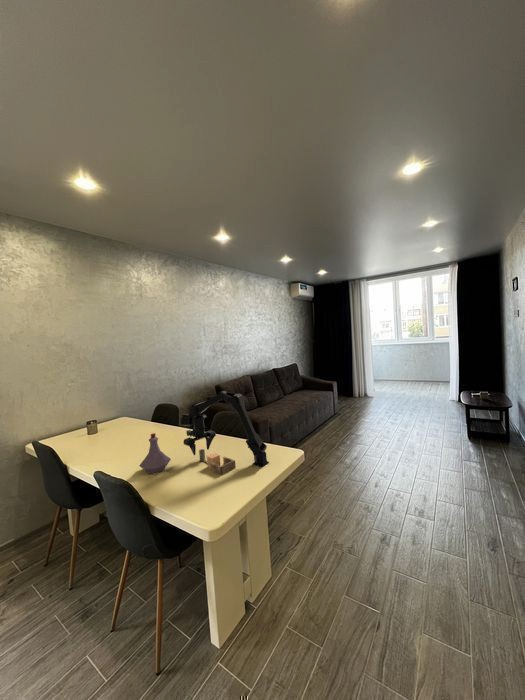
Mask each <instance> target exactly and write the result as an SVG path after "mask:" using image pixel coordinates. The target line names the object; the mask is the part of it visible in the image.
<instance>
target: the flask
mask: <svg viewBox="0 0 525 700" xmlns="http://www.w3.org/2000/svg"><path fill="white" fill-rule="evenodd" d="M158 440H159V437H157V436H156V433H155V432H154V433H151V434H150V438H149V439H148V441H149V449H148V453H147V455H146V456H145V458H144V459H143V460H142V462H141V463H140V464H139V465H138V466H139V467H140V468H141V469H143V470H144V471H145V472H146V473H148V475H154V474H155V475H156V474H158V473H159V474H160V473H161V472H163V471H164V470H165V469H166V468H167V466H168V465H169V463H170V461H171V460H172V459H171V458H170V457H169V456H168V455H166V454H165V453H164V452H162V450H161V449H160V446H159V443H158Z"/></svg>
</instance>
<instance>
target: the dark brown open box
mask: <svg viewBox="0 0 525 700" xmlns="http://www.w3.org/2000/svg"><path fill="white" fill-rule="evenodd" d="M222 459H223V460H222V461H223V464H222V465H221V466H219V465H217V464H215V463H210V465H211V468H210V471H212V472H213V473H215V474H218V475H220V476H223V475H225V474H227V473H228V472H230V471H233V470H235V469H236V468H237V467H236V466H237V465H236V460H235V459H232V458H229V457H227V456H223V457H222Z"/></svg>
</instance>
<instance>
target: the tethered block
mask: <svg viewBox="0 0 525 700" xmlns="http://www.w3.org/2000/svg"><path fill="white" fill-rule="evenodd" d="M198 452H199V462H202V463H207V468H209V469H211V465H210V463H215V464H217V465H219V466H222V465H221V455H220V454H218V453H216V452H214V453H211V454H209V455H207V456H206V453H205V449H202V448H201V449H199V451H198Z"/></svg>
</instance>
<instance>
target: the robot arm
mask: <svg viewBox="0 0 525 700" xmlns="http://www.w3.org/2000/svg"><path fill="white" fill-rule="evenodd" d="M219 401H224V402H226V403H229V404H230V405H231V406H232V408H233V409H234V410H235V411H236V412H237V415H238V417H239V419H240V421H241V425H242V426H243V428H244V431H245V433H246V435H247V439H246V440H245V442H246V443H245V444H246V445H247V448H248V449H249V451H251V452H252V455H253V460H254V462H252V465H254V466H257V467H259V468H262V467H264V466H265V465H267V464H269V463H270V461H268V459H267V452H266V450H267V448H268V446H267V444H266V443H265V442H264V441H263V439H262V438H261V436H260V435H259V434H258V433H257V432H256V431H255V428H254V426H253V423H252V421H251V419H250V417H249V414H248V411H247V409H246V405H245V404H246V403H245V399H244V396H243V394H241V393H235V392H229V391H226V390H222V391H220V392H219V393H218V394H216V395H214V396H212V397H211V398H209V399H207V400H205V401H201V402H199V403H197V404H195V405H192V406H191V408H190V412H189V413H183V414H182V416H181V418H180V425H181V426H184V427H185V426H186V427H189V426H190V427H192V426H193V427H192V430H191V429H188V430H185V431H186V436H187V438H184V440H183V445H184V446H187V447H189V448H190V451H191V452H192V454H193V456H196V454H197V453H196V444H195V443H196V442H197V441H199V440H203V439H205V440H206V450H208V451H209V450H210V447H211V444H212V442H213V440H214V439H215V437H217V435H216V431H214V430H211V429H210V430H207V431H205V430H206V429H207V427H206V426H205V421H204V420H205V419H206V418H208V416H207V414H205V413H204V412H205V411H206V410H208V408H209V407H210V406H213V405H215V404H216V403H218V402H219ZM202 413H203V414H202ZM192 437H193V438H192Z"/></svg>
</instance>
